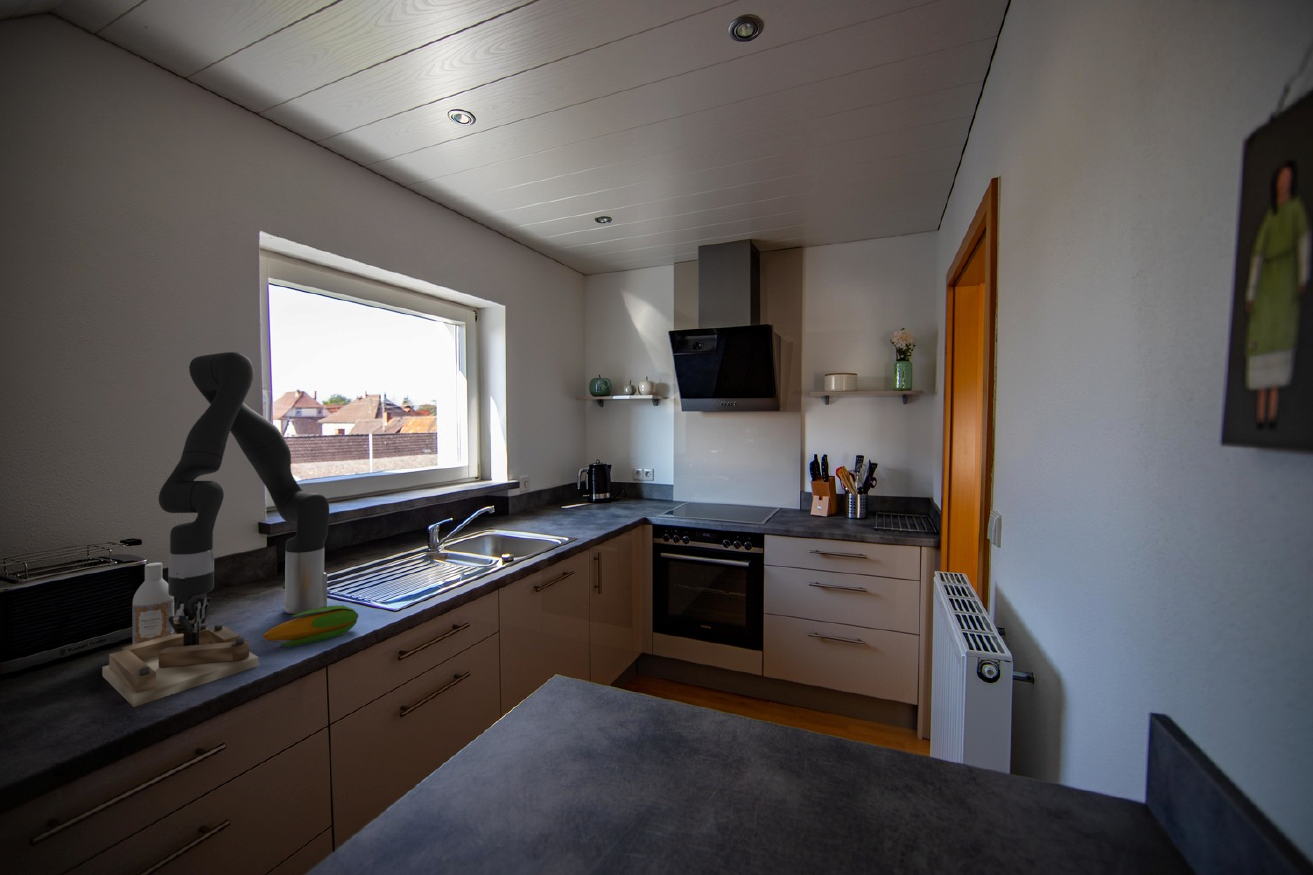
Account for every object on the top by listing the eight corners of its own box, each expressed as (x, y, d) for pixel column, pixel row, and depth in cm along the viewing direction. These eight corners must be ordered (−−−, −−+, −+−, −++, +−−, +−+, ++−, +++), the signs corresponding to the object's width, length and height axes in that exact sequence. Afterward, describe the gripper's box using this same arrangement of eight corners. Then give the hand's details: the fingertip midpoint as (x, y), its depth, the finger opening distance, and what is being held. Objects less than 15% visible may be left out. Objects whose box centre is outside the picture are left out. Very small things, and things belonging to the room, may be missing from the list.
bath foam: (128, 658, 117) (128, 569, 116) (137, 646, 122) (137, 562, 122) (170, 651, 120) (170, 566, 120) (176, 640, 126) (176, 558, 125)
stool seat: (220, 642, 126) (221, 618, 126) (258, 665, 115) (258, 639, 115) (102, 676, 109) (102, 647, 109) (133, 706, 98) (133, 675, 98)
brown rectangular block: (251, 653, 116) (251, 634, 116) (245, 659, 113) (245, 640, 113) (166, 660, 112) (166, 641, 112) (158, 667, 109) (158, 648, 108)
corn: (362, 604, 133) (265, 623, 120) (362, 633, 133) (265, 656, 120) (354, 598, 139) (260, 616, 125) (354, 626, 139) (260, 647, 125)
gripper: (187, 563, 120) (186, 637, 121) (152, 581, 107) (151, 663, 108) (226, 561, 122) (225, 634, 123) (196, 579, 110) (196, 660, 110)
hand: (191, 648), depth 115 cm, fingers closed
